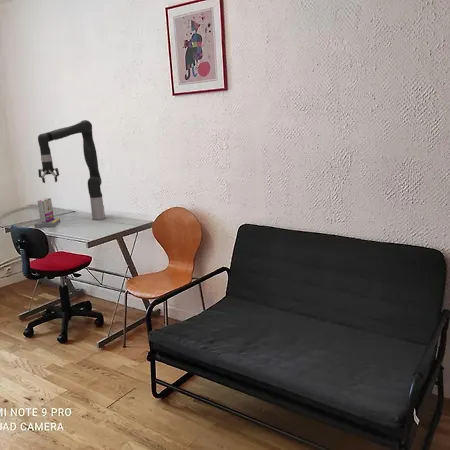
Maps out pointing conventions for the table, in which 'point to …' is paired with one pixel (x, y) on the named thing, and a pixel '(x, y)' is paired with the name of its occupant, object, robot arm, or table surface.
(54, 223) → the loading dock
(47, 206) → the candy bar box
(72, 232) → the table surface
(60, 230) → the table surface
